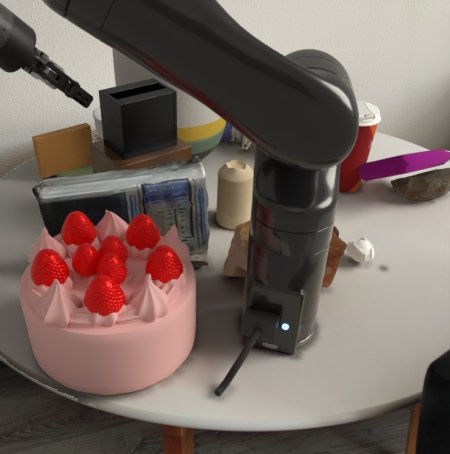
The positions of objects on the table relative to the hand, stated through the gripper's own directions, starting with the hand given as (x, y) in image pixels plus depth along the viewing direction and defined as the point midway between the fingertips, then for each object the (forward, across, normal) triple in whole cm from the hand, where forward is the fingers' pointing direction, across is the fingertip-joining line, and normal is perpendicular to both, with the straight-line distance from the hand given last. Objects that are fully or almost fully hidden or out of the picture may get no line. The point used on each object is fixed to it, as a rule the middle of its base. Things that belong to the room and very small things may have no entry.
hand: (77, 94), depth 96 cm
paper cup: (+34, -31, -15) cm, 48 cm away
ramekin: (+17, +9, +1) cm, 20 cm away
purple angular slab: (+27, -39, -18) cm, 51 cm away
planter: (+20, -6, -1) cm, 21 cm away
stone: (+16, -48, -4) cm, 50 cm away
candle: (+17, -29, +2) cm, 34 cm away
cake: (-4, -41, +22) cm, 47 cm away
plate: (+8, 0, +10) cm, 13 cm away
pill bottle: (+29, -7, -14) cm, 33 cm away
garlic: (+24, -48, -4) cm, 54 cm away
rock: (+36, -46, -24) cm, 63 cm away
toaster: (+1, -19, +1) cm, 19 cm away
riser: (+10, -19, +9) cm, 23 cm away
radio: (+3, -29, +15) cm, 33 cm away
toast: (+7, 0, +5) cm, 9 cm away
